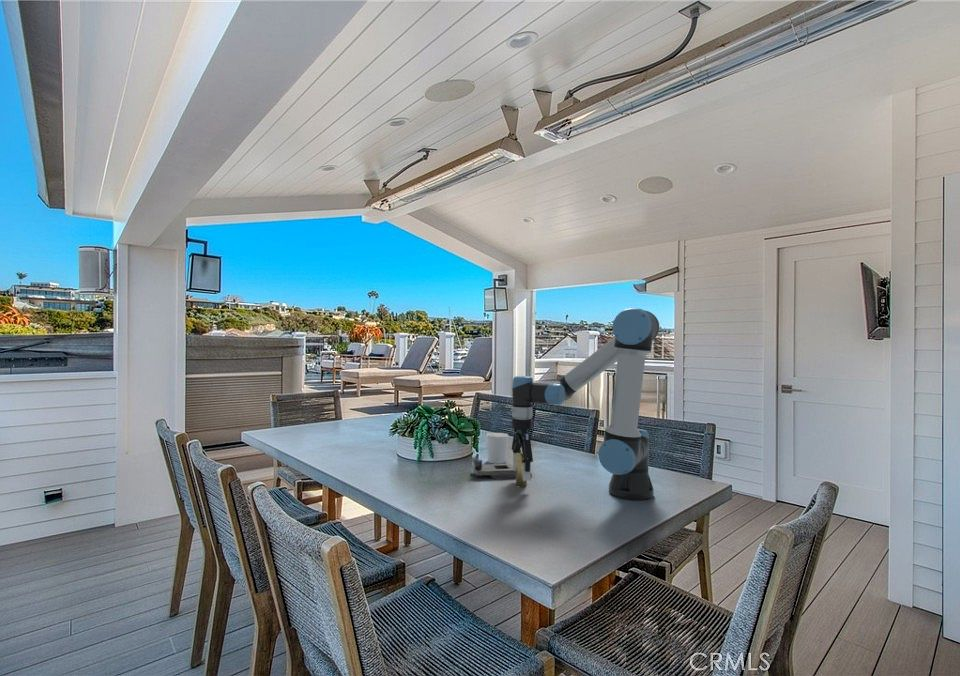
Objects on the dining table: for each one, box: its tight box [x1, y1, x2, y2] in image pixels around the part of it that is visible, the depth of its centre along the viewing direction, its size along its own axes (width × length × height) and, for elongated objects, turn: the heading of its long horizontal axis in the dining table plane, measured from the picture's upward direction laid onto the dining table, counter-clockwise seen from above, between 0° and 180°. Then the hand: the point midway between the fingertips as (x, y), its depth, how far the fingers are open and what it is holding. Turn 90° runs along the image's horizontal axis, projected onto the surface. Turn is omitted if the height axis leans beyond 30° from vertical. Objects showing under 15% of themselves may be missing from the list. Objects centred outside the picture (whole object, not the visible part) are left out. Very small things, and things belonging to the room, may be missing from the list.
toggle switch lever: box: [515, 451, 528, 488], centre depth 178 cm, size 4×4×12 cm
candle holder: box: [486, 432, 509, 464], centre depth 213 cm, size 10×10×12 cm
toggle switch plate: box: [471, 459, 533, 480], centre depth 192 cm, size 22×10×6 cm, turn 101°
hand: (521, 475), depth 178 cm, fingers open, 13 cm apart
